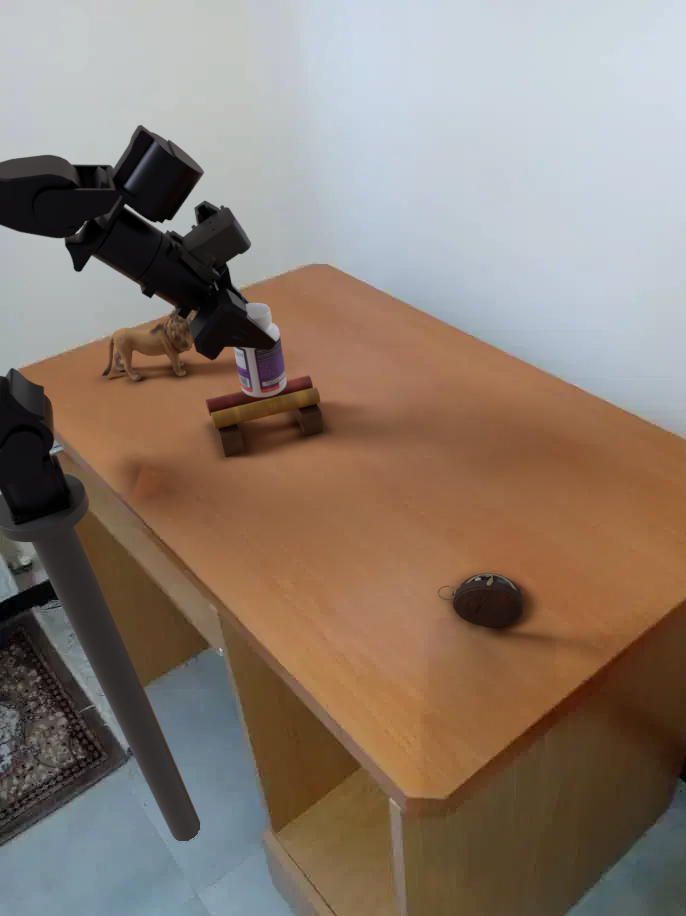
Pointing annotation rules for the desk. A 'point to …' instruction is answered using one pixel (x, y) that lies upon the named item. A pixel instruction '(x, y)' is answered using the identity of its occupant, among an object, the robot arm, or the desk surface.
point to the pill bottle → (261, 358)
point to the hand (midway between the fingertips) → (268, 334)
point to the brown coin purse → (487, 600)
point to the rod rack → (264, 411)
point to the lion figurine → (152, 343)
